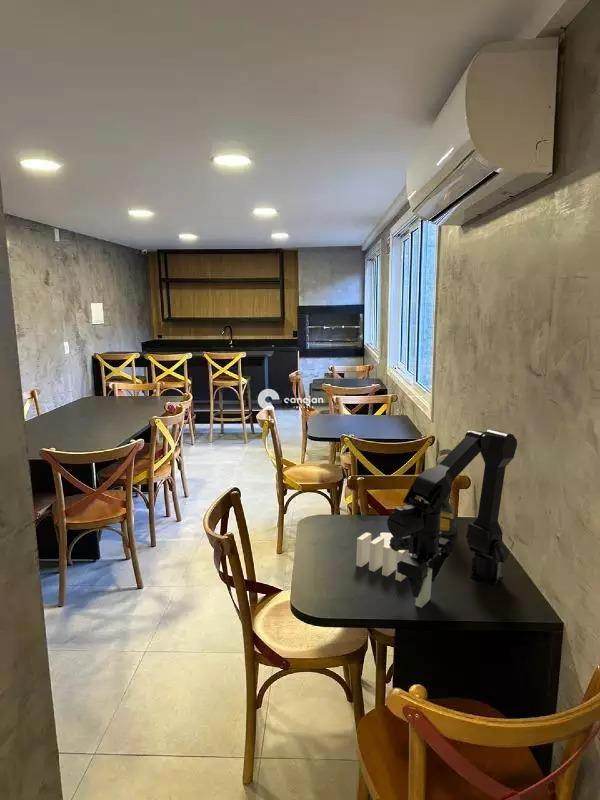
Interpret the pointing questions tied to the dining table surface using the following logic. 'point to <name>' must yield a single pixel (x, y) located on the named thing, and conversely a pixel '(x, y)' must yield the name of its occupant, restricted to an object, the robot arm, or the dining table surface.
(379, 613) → the dining table surface
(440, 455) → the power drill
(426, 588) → the tile
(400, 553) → the tile
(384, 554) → the tile
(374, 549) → the tile
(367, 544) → the tile
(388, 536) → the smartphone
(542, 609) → the dining table surface
